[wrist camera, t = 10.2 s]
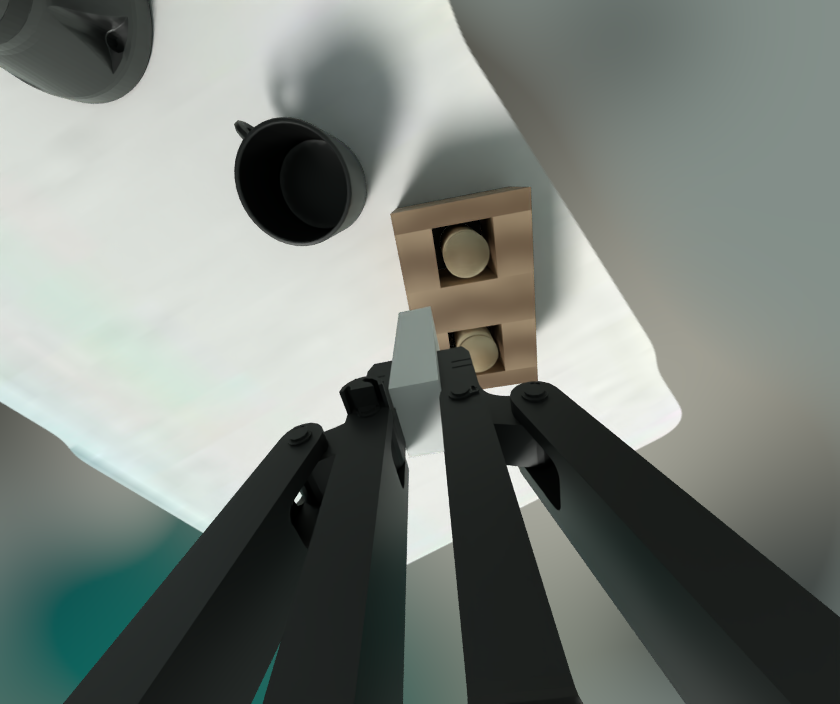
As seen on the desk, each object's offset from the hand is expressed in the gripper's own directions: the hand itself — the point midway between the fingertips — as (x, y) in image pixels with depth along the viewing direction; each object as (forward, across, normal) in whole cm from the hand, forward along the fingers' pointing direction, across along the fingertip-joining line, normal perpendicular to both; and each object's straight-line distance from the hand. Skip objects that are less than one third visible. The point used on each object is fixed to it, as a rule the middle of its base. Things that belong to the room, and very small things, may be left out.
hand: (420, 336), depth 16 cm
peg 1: (+24, +4, 0) cm, 25 cm away
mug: (+25, -9, +9) cm, 28 cm away
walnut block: (+25, +4, -5) cm, 26 cm away
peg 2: (+24, +4, -10) cm, 27 cm away
